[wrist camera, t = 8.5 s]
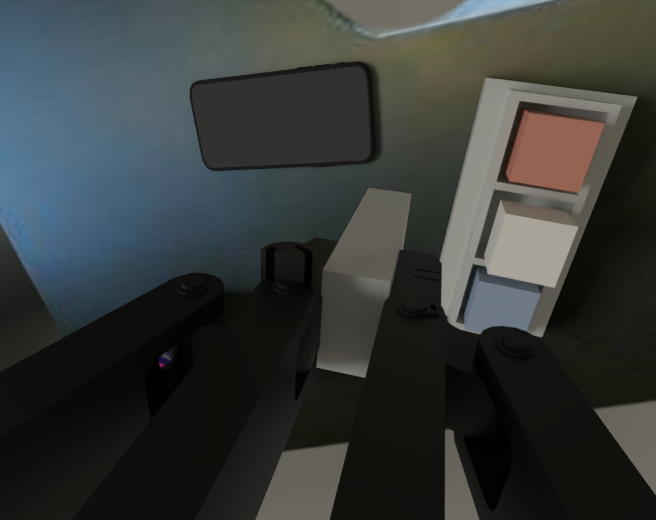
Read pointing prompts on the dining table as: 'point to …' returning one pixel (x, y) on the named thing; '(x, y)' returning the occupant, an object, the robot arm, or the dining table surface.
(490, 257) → the white key
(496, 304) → the blue key
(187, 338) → the robot arm
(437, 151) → the dining table surface
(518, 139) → the red key
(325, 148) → the smartphone
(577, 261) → the dining table surface
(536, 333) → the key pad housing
